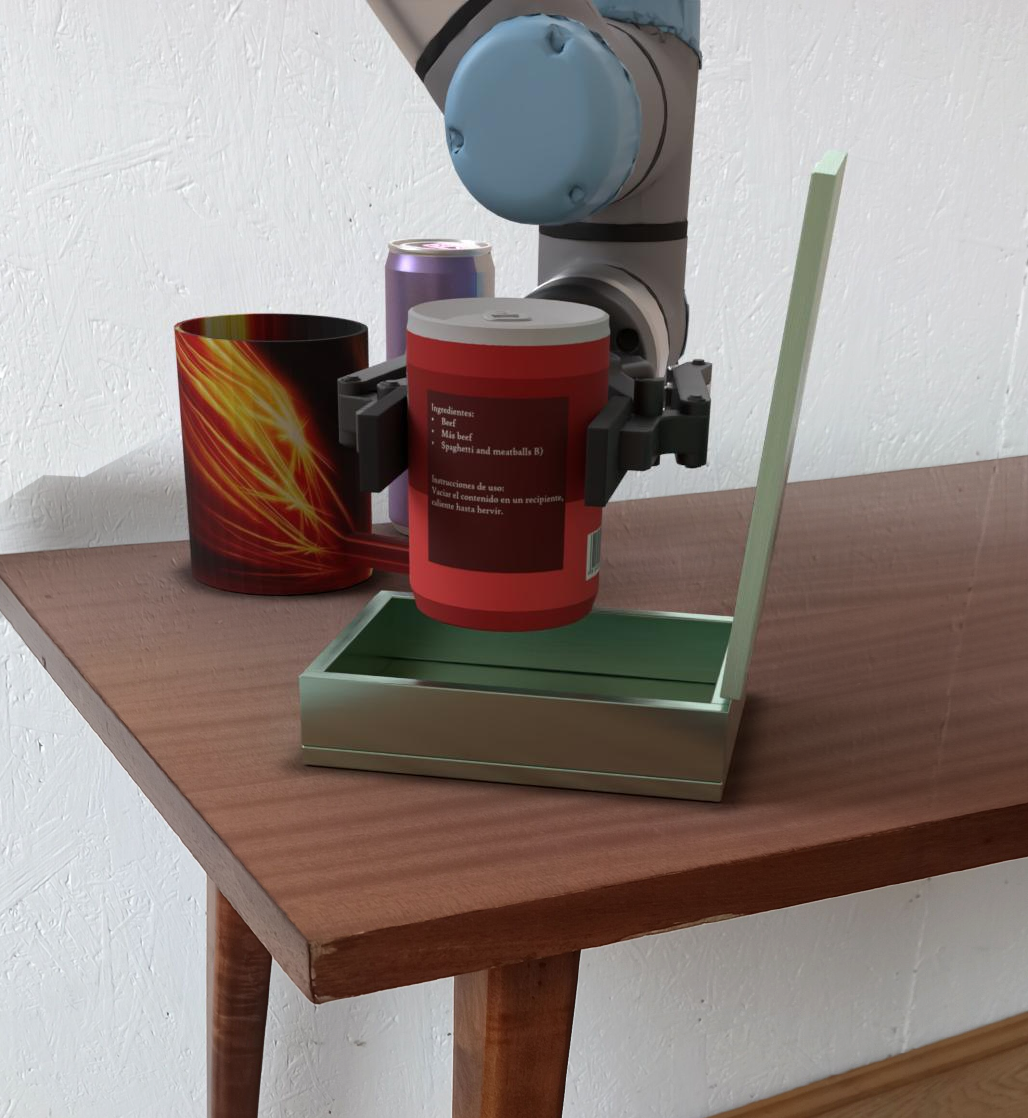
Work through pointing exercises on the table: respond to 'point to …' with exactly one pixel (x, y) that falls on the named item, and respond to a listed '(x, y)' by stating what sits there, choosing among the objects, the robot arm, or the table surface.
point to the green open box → (527, 701)
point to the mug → (275, 455)
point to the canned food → (503, 460)
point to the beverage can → (420, 278)
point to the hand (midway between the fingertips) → (481, 461)
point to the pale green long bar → (784, 415)
